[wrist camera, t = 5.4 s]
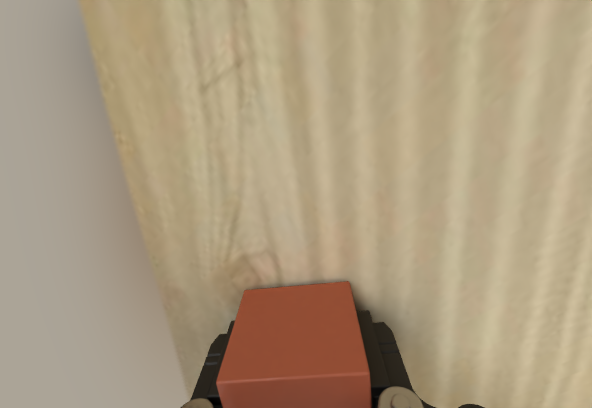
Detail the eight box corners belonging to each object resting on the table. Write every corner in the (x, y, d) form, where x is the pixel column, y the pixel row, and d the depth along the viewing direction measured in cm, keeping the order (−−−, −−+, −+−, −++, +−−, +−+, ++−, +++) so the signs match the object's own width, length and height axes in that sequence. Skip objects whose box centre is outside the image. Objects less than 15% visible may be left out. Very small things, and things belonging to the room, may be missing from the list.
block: (261, 368, 14) (242, 479, 10) (244, 289, 13) (214, 382, 9) (355, 361, 14) (375, 474, 10) (349, 280, 13) (370, 373, 8)
